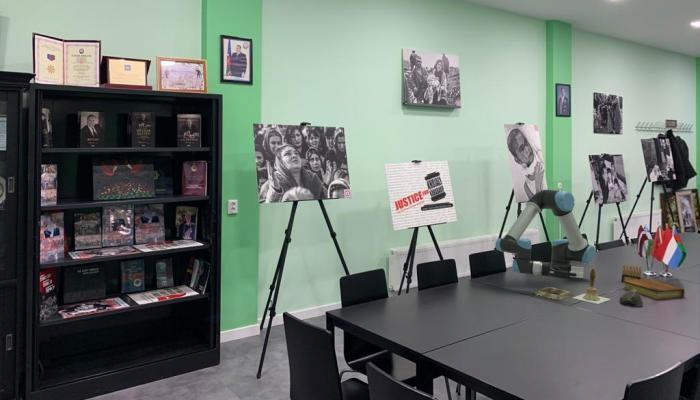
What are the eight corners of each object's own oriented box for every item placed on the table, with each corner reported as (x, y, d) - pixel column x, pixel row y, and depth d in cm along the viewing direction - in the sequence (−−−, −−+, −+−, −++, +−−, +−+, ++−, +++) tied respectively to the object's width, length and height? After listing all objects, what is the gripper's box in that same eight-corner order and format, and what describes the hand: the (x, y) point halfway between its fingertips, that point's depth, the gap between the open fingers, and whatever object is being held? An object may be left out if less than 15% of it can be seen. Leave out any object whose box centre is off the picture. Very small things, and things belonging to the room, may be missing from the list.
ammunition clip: (641, 285, 303) (642, 265, 301) (640, 285, 301) (641, 265, 300) (622, 281, 310) (623, 262, 309) (621, 282, 309) (622, 263, 308)
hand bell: (581, 295, 276) (583, 267, 275) (598, 297, 274) (599, 268, 273) (584, 299, 268) (585, 270, 267) (601, 301, 266) (602, 271, 265)
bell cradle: (535, 295, 279) (535, 290, 279) (548, 291, 287) (549, 286, 287) (558, 300, 268) (558, 296, 268) (571, 296, 277) (571, 291, 276)
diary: (684, 298, 276) (684, 288, 275) (657, 301, 271) (657, 290, 270) (648, 287, 298) (649, 278, 297) (622, 289, 293) (623, 280, 292)
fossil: (613, 299, 269) (622, 283, 268) (628, 307, 269) (637, 291, 269) (625, 305, 258) (635, 288, 257) (640, 313, 258) (650, 296, 258)
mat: (572, 298, 273) (572, 297, 273) (585, 294, 281) (585, 293, 281) (598, 304, 262) (598, 303, 262) (610, 300, 270) (610, 299, 270)
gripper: (543, 270, 293) (584, 274, 283) (538, 280, 271) (582, 284, 261) (544, 257, 292) (584, 261, 283) (539, 266, 270) (583, 270, 260)
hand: (583, 272), depth 272 cm, fingers open, 13 cm apart
